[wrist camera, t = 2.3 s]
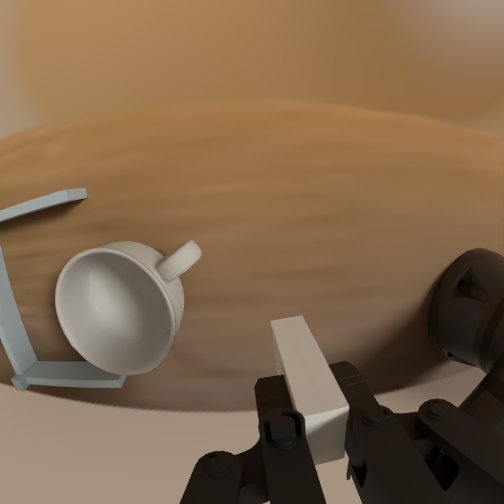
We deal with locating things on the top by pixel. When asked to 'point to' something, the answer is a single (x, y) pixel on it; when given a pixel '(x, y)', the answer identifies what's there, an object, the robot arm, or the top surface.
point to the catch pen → (13, 332)
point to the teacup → (123, 304)
